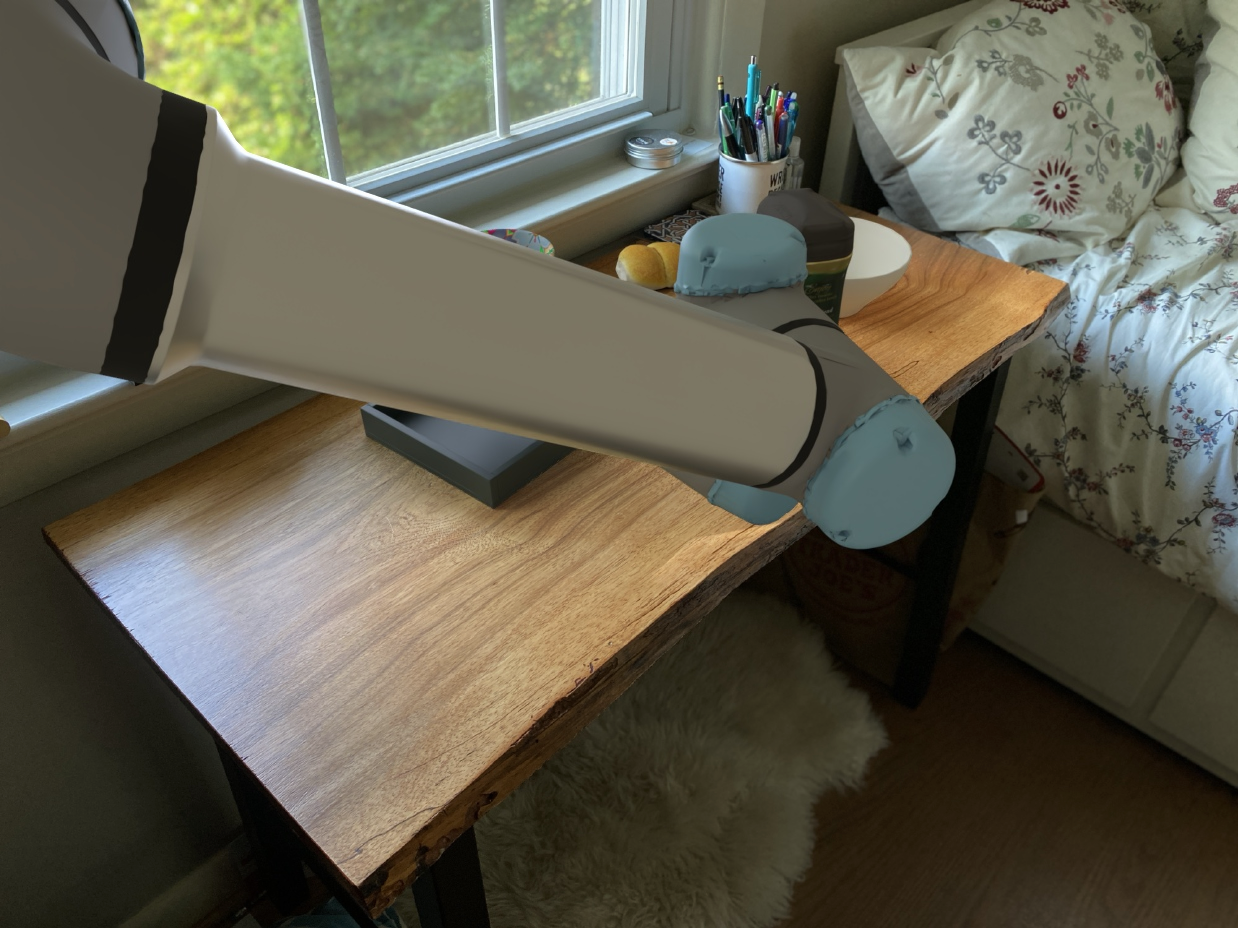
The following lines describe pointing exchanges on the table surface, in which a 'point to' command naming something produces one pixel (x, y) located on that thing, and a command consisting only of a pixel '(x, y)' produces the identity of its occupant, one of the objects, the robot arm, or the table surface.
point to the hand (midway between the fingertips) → (456, 284)
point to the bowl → (873, 265)
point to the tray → (463, 451)
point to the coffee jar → (817, 242)
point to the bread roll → (649, 265)
